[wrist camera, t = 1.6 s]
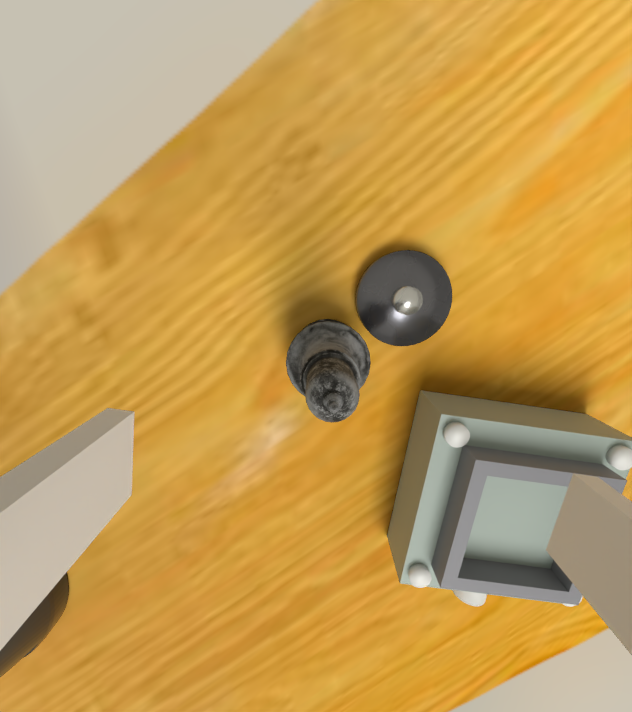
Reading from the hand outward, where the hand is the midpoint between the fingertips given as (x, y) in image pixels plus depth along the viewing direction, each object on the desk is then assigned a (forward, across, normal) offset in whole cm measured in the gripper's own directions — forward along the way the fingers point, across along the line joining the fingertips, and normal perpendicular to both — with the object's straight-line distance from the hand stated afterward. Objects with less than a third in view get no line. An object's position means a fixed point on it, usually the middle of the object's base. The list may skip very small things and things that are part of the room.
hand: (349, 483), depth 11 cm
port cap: (+18, +5, +5) cm, 19 cm away
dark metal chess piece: (+18, 0, 0) cm, 18 cm away
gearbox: (+18, +15, -10) cm, 25 cm away
